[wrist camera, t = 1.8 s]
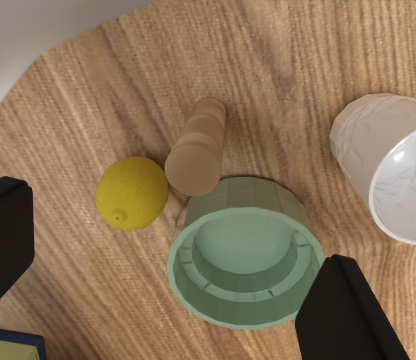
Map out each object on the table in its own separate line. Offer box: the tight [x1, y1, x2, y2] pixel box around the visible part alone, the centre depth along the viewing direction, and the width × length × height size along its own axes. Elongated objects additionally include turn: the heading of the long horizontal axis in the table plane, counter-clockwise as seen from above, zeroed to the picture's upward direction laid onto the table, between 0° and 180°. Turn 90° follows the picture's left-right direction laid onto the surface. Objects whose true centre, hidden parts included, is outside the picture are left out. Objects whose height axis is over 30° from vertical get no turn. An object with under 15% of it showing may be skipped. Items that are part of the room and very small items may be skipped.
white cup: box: [329, 93, 416, 245], centre depth 21 cm, size 8×8×10 cm
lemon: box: [96, 156, 169, 231], centre depth 25 cm, size 6×6×8 cm
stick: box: [165, 98, 226, 196], centre depth 20 cm, size 3×3×12 cm
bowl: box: [166, 177, 326, 330], centre depth 28 cm, size 13×13×6 cm
